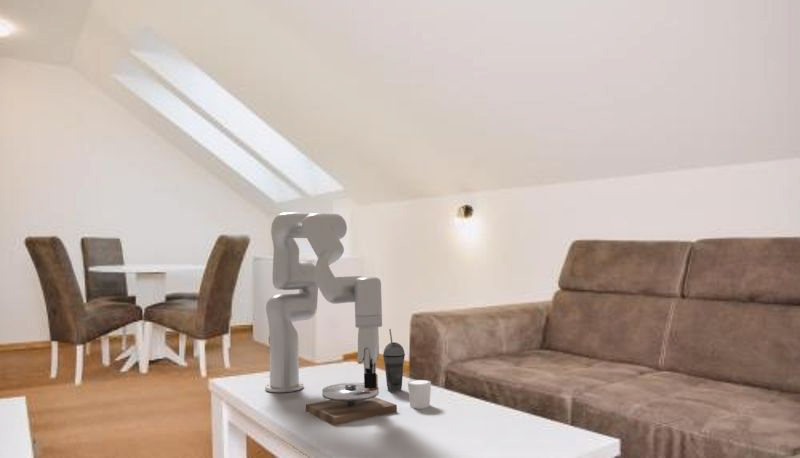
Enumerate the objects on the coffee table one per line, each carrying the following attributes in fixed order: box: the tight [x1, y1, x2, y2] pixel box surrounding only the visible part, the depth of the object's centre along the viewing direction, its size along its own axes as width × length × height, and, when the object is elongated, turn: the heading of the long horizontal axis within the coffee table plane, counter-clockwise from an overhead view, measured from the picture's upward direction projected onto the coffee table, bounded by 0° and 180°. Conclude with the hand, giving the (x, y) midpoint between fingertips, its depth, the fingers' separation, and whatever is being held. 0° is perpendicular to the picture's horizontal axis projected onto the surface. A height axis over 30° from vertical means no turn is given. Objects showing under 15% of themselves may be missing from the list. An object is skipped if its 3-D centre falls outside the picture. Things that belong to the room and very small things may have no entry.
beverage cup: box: [382, 328, 406, 393], centre depth 189 cm, size 7×7×20 cm
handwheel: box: [321, 373, 380, 401], centre depth 164 cm, size 16×16×5 cm
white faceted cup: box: [407, 379, 432, 409], centre depth 169 cm, size 7×7×7 cm
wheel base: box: [305, 396, 398, 426], centre depth 164 cm, size 17×20×5 cm
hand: (370, 387), depth 161 cm, fingers closed
